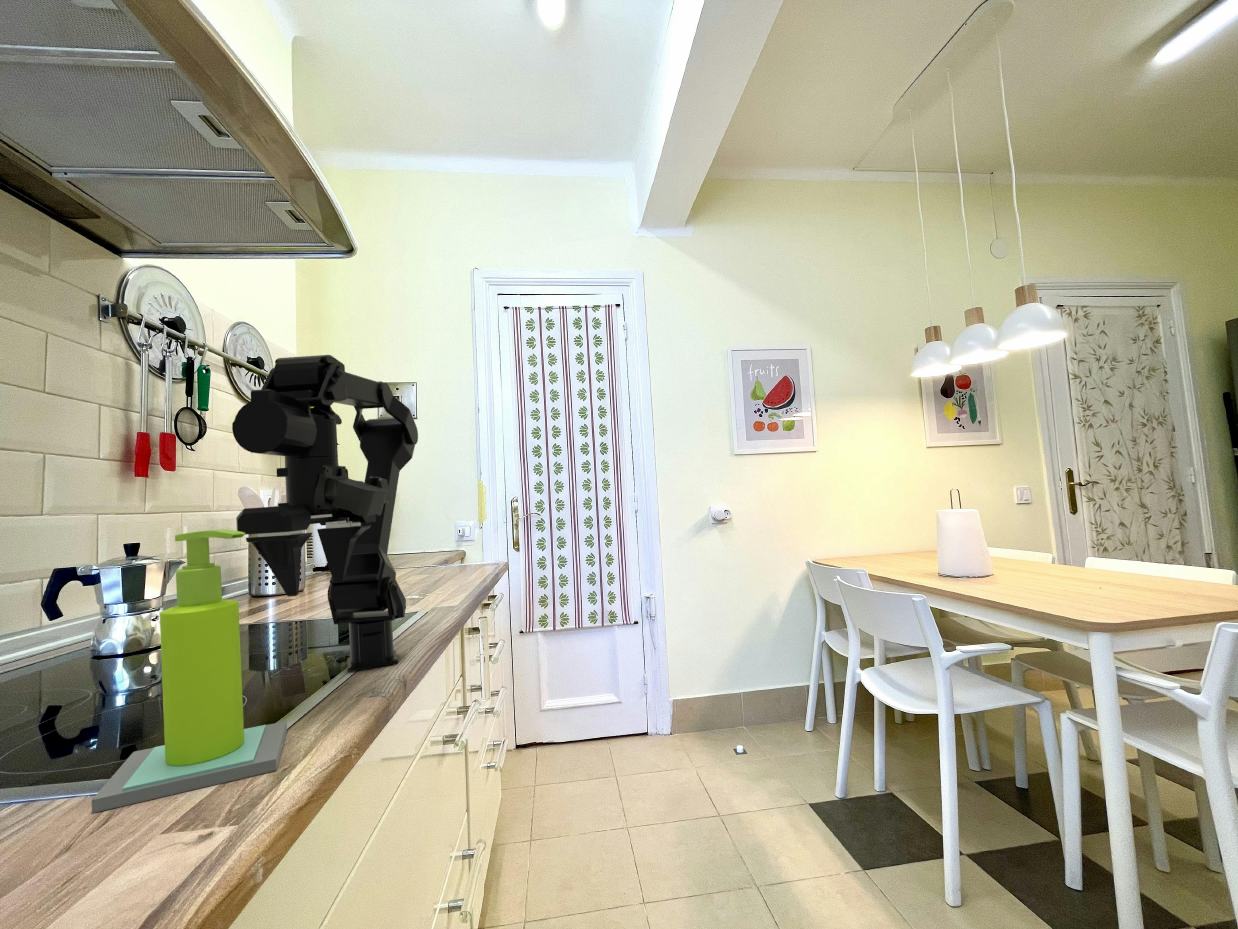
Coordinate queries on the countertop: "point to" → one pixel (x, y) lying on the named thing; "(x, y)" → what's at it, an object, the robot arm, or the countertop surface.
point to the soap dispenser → (201, 661)
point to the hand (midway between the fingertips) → (317, 588)
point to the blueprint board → (190, 769)
